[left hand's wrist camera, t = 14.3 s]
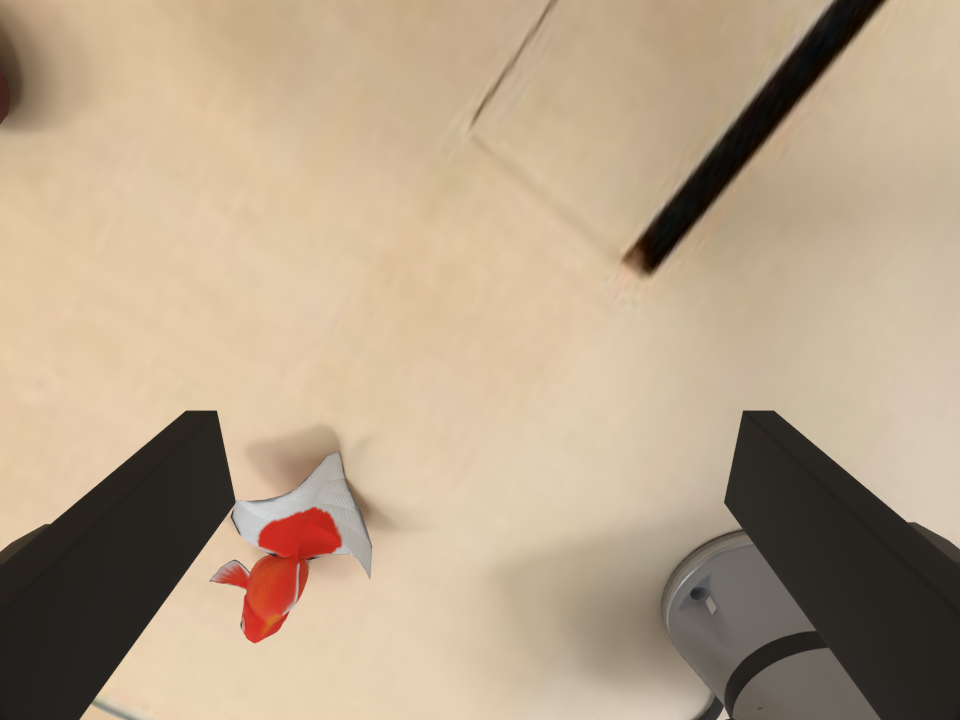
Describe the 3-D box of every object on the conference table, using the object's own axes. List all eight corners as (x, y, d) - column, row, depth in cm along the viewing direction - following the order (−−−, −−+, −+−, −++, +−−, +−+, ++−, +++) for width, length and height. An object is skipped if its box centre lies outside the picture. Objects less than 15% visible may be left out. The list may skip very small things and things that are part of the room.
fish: (150, 571, 39) (148, 665, 31) (282, 405, 41) (314, 451, 33) (269, 612, 45) (294, 700, 37) (379, 465, 47) (426, 517, 39)
